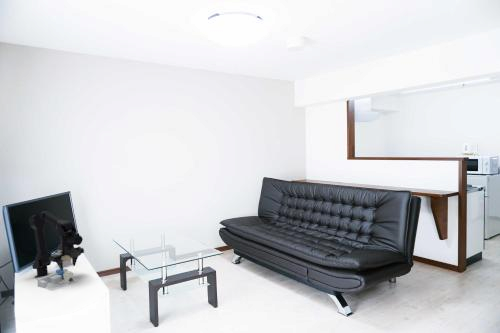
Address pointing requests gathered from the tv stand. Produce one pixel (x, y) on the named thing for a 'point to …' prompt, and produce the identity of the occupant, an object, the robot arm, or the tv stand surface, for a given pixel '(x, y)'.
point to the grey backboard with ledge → (54, 280)
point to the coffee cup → (64, 258)
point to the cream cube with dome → (68, 277)
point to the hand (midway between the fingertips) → (68, 268)
